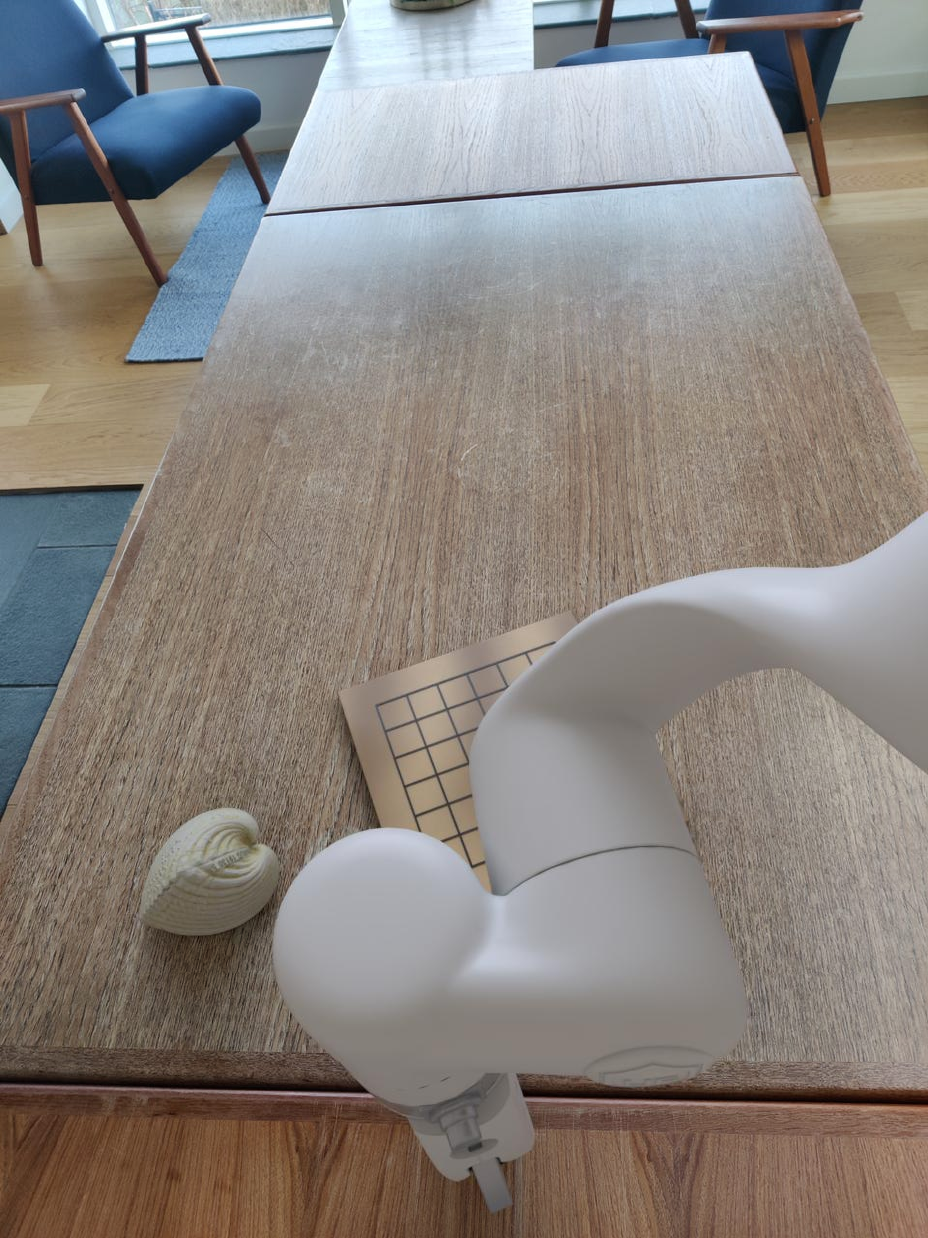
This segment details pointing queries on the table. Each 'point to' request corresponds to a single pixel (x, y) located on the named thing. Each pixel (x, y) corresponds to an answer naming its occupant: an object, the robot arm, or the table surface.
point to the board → (439, 732)
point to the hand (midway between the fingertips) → (470, 1093)
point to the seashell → (209, 875)
